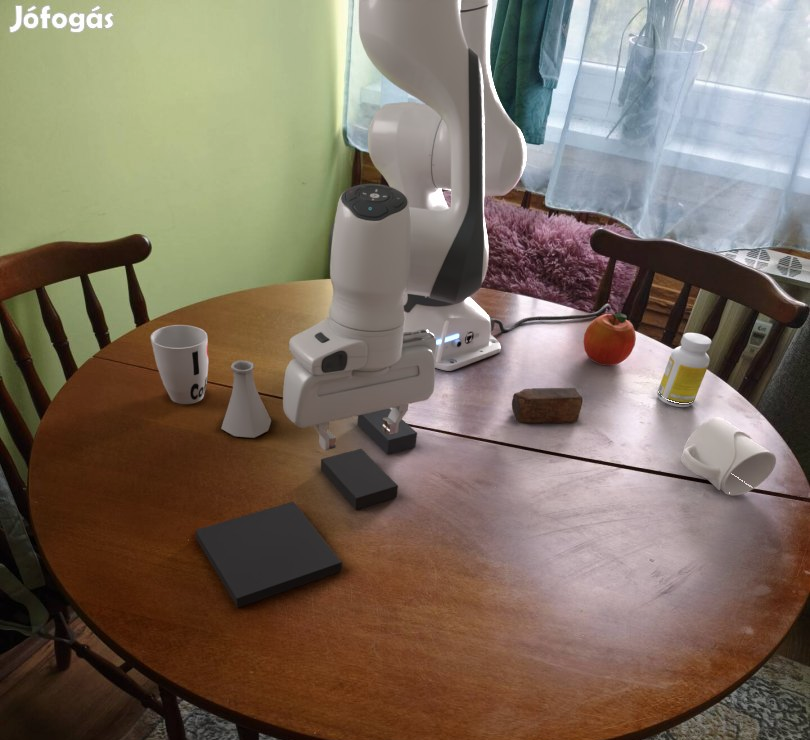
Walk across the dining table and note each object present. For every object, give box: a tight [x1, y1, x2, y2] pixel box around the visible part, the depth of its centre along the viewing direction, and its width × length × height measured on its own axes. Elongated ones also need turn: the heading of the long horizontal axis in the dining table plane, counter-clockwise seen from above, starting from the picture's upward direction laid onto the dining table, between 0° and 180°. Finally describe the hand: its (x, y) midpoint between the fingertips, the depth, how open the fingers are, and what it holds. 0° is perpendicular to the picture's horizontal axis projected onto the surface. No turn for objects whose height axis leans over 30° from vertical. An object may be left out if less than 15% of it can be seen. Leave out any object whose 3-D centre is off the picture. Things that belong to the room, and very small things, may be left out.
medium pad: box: [320, 448, 399, 511], centre depth 95 cm, size 6×10×2 cm, turn 33°
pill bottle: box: [657, 332, 712, 408], centre depth 120 cm, size 6×6×12 cm
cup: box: [150, 324, 209, 405], centre depth 106 cm, size 8×8×10 cm
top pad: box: [356, 408, 418, 455], centre depth 105 cm, size 5×9×2 cm, turn 32°
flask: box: [220, 359, 272, 439], centre depth 101 cm, size 7×7×10 cm
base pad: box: [194, 501, 343, 609], centre depth 83 cm, size 13×13×2 cm
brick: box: [511, 387, 584, 424], centre depth 113 cm, size 11×4×5 cm, turn 100°
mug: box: [680, 417, 777, 497], centre depth 102 cm, size 12×9×8 cm
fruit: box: [582, 311, 637, 366], centre depth 131 cm, size 10×10×10 cm
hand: (359, 439), depth 91 cm, fingers open, 8 cm apart
